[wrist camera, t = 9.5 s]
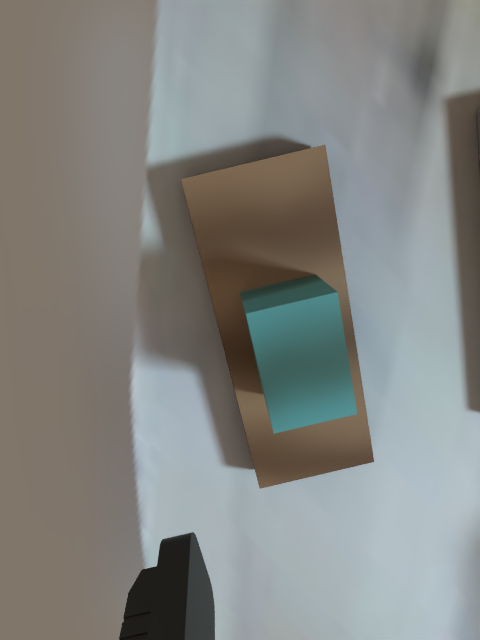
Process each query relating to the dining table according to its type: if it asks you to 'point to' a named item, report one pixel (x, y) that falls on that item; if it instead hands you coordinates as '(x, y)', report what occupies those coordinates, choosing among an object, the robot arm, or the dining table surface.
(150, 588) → the robot arm
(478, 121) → the gray notebook
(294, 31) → the dining table surface
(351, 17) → the dining table surface
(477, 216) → the dining table surface
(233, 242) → the wooden base with cube
